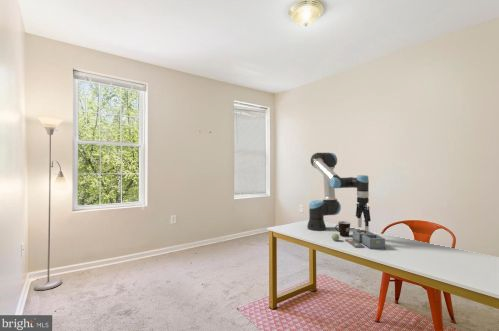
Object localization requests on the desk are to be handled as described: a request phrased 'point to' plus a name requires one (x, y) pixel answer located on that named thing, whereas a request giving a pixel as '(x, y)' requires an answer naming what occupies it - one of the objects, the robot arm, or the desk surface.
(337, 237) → the olive ball
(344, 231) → the coffee mug
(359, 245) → the card
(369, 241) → the grey open box
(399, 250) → the desk surface
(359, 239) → the grey square bin
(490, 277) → the desk surface
